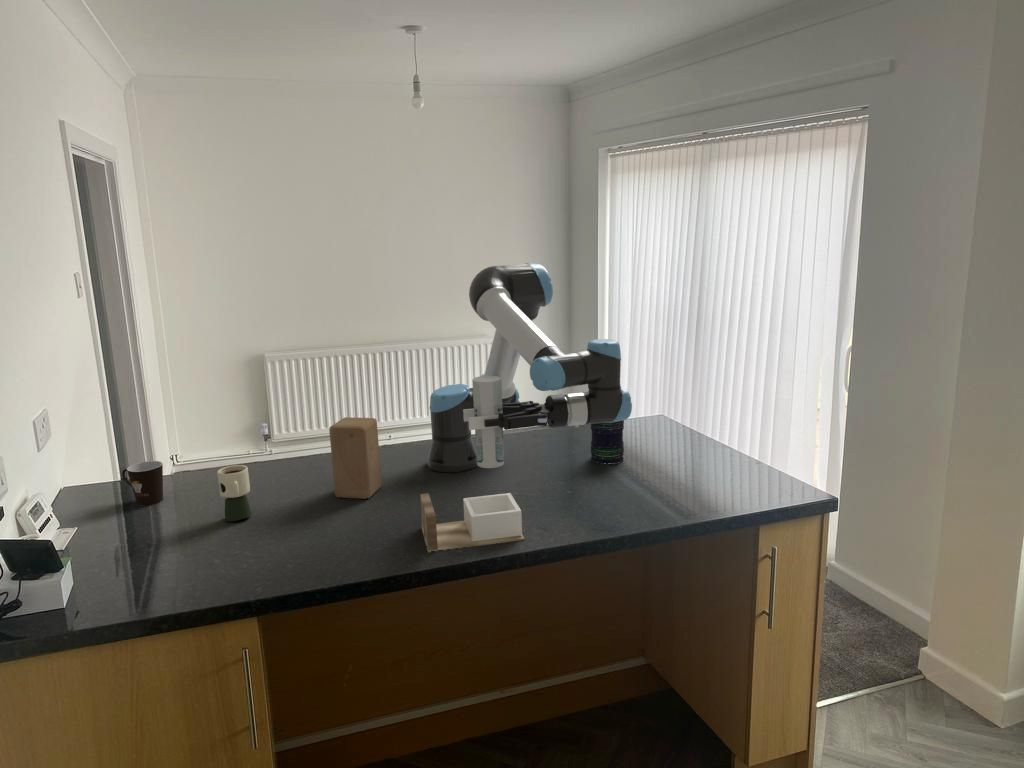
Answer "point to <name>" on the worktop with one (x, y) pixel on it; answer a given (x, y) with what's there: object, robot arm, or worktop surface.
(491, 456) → the spray can
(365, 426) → the wooden block
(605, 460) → the storage jar
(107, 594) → the worktop surface
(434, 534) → the brown l-shaped stand
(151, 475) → the coffee mug
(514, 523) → the sleeve
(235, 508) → the character mug
